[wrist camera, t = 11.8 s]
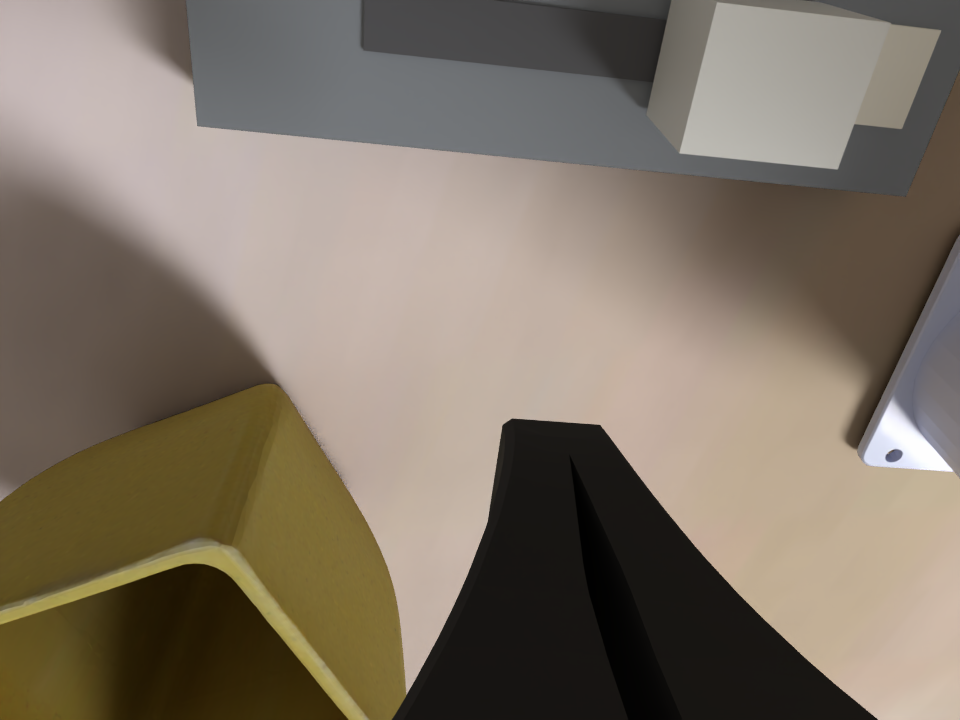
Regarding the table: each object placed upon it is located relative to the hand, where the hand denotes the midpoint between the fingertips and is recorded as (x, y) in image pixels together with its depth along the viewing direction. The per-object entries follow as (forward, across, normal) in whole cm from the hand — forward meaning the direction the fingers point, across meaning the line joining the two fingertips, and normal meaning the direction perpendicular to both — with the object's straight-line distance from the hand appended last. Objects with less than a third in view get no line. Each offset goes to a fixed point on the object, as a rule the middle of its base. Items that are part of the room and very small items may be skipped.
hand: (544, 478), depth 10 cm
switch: (+8, -4, -4) cm, 10 cm away
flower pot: (+11, +7, +9) cm, 16 cm away
